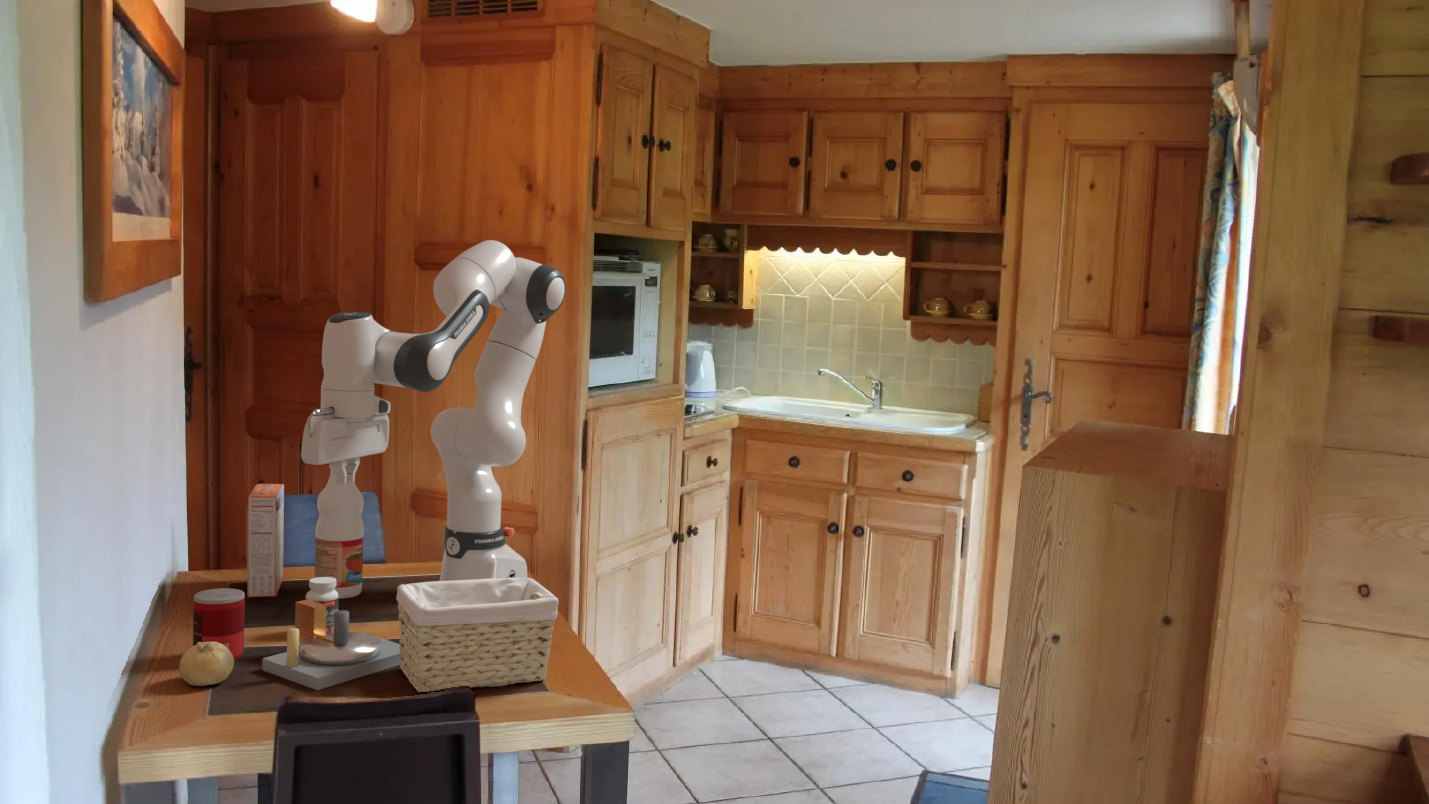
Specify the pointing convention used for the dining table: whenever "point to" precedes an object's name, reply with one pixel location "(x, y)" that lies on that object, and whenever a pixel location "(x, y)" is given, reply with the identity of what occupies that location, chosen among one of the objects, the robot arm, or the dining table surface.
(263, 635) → the dining table surface
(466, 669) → the storage basket
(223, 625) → the canned food
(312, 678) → the post board
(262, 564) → the cracker box
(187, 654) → the onion
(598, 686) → the dining table surface
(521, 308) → the robot arm
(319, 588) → the pill bottle
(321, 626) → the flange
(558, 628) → the dining table surface
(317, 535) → the fruit juice
